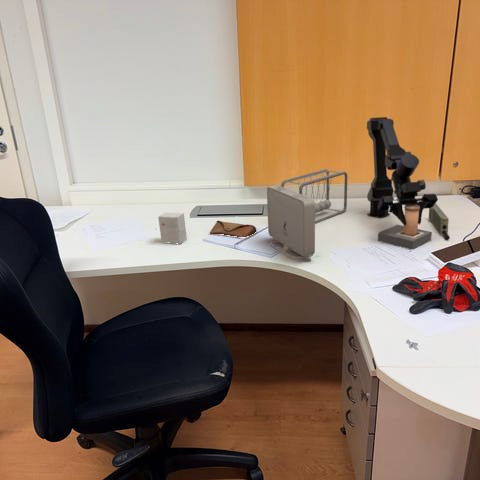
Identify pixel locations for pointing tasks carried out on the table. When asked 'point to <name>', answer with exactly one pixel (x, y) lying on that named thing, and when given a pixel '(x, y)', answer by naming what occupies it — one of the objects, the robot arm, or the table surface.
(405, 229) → the plug
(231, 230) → the sunglasses case
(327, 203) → the newton's cradle
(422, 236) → the block
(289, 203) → the network device
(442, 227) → the handheld radio
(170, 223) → the small box
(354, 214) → the table surface
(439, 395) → the table surface
